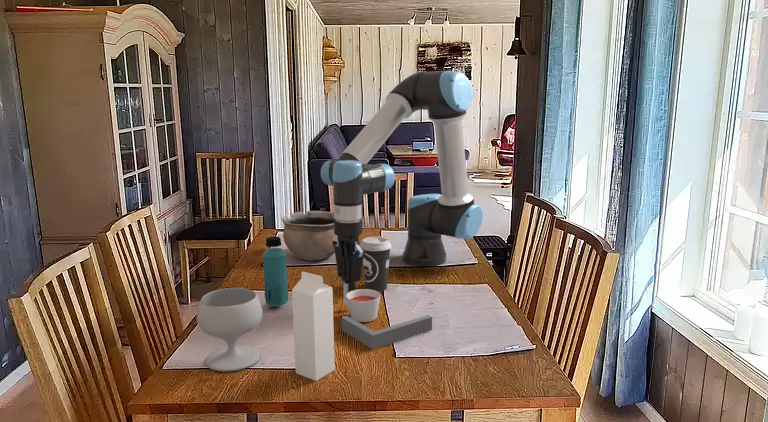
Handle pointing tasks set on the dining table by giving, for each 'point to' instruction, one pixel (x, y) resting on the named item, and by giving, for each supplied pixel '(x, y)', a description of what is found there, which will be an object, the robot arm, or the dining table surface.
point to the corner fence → (385, 331)
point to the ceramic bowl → (310, 234)
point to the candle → (363, 304)
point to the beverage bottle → (275, 273)
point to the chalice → (230, 326)
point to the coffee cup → (376, 262)
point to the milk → (313, 327)
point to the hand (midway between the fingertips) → (349, 304)
